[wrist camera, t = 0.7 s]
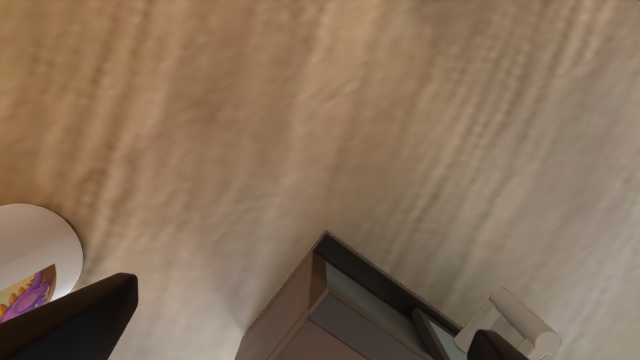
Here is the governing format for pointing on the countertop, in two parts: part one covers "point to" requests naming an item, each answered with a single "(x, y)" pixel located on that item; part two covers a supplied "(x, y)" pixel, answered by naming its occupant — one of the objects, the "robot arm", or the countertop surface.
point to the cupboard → (339, 313)
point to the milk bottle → (35, 258)
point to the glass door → (501, 302)
